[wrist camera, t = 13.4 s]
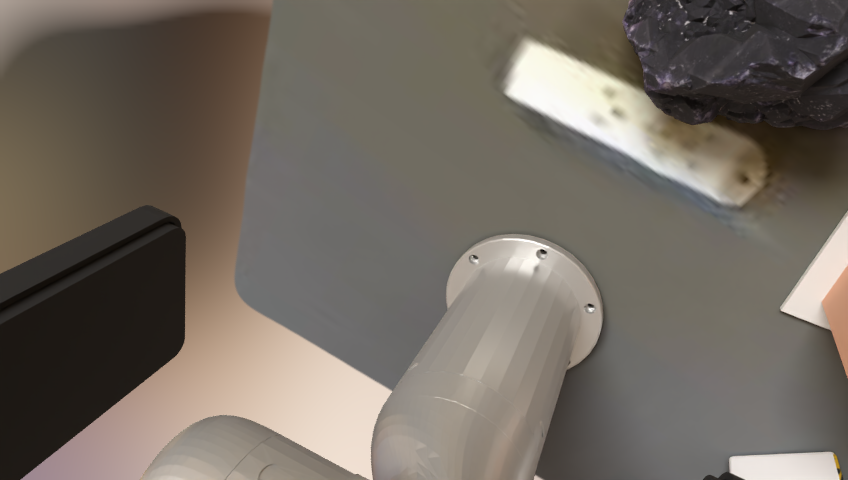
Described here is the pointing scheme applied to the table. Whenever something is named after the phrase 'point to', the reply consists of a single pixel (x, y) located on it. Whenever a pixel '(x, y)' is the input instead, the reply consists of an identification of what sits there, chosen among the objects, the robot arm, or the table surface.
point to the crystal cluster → (744, 59)
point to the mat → (820, 278)
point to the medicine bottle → (787, 466)
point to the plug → (839, 315)
